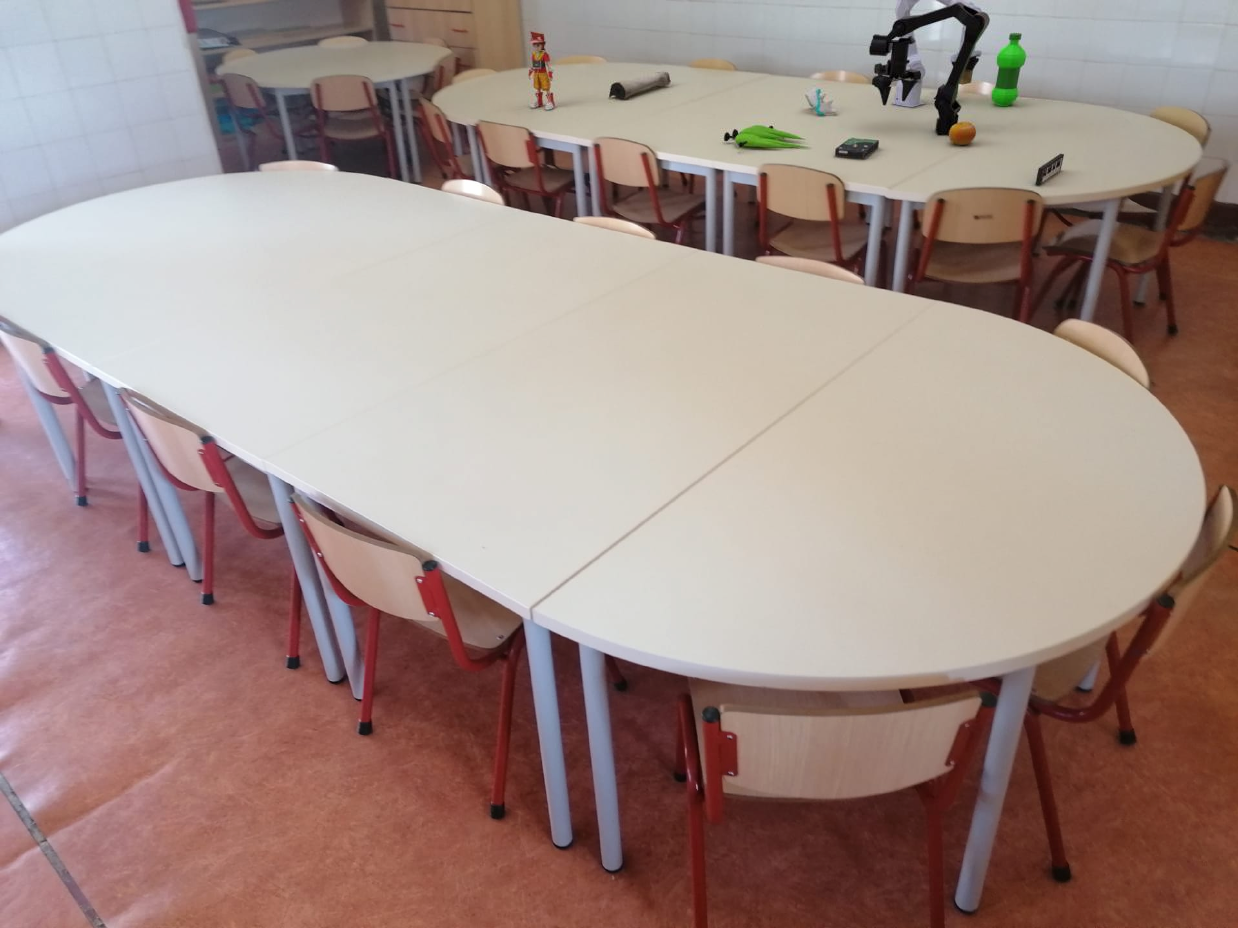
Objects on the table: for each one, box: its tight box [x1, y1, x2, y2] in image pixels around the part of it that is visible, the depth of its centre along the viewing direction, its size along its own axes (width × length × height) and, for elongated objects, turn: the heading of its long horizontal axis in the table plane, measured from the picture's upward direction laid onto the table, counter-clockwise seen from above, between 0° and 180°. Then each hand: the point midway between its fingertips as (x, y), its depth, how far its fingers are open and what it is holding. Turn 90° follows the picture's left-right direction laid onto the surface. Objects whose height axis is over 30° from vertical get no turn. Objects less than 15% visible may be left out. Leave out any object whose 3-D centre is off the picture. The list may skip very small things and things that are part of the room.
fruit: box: [948, 121, 977, 146], centre depth 306 cm, size 8×8×8 cm
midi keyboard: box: [1035, 153, 1065, 186], centre depth 273 cm, size 18×1×5 cm, turn 138°
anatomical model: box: [804, 85, 838, 116], centre depth 351 cm, size 15×10×10 cm
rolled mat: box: [608, 71, 672, 101], centre depth 395 cm, size 30×9×10 cm
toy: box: [527, 31, 556, 111], centre depth 374 cm, size 12×9×30 cm
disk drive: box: [834, 137, 880, 159], centre depth 305 cm, size 10×3×15 cm
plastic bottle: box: [991, 32, 1027, 107], centre depth 341 cm, size 10×10×25 cm
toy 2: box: [723, 124, 807, 148], centre depth 319 cm, size 28×5×30 cm
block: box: [959, 69, 974, 85], centre depth 350 cm, size 5×5×4 cm
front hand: (893, 103), depth 325 cm, fingers open, 9 cm apart
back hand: (962, 79), depth 350 cm, fingers closed on block, 5 cm apart
